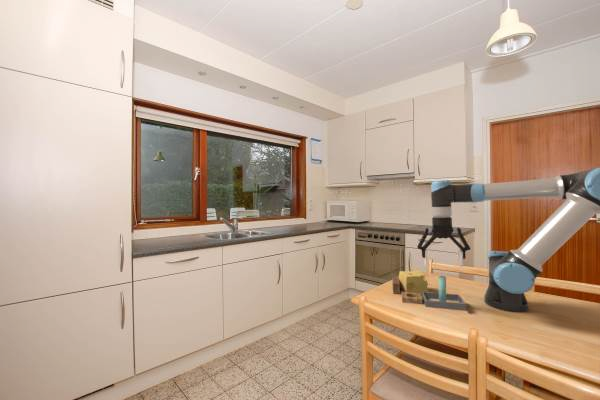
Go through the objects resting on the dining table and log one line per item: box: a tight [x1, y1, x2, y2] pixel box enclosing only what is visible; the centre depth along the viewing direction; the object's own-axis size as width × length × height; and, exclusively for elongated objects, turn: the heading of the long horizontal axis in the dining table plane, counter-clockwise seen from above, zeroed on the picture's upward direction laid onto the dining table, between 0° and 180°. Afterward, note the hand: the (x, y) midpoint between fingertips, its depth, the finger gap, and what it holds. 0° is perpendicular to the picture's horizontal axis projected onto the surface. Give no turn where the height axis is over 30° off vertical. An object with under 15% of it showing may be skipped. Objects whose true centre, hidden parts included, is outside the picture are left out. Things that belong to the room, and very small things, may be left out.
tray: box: [421, 291, 467, 311], centre depth 117 cm, size 15×11×4 cm
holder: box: [400, 291, 423, 305], centre depth 122 cm, size 8×8×3 cm
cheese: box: [398, 270, 429, 296], centre depth 133 cm, size 10×11×10 cm
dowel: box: [438, 275, 447, 302], centre depth 117 cm, size 3×3×12 cm
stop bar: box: [391, 276, 401, 295], centre depth 135 cm, size 3×12×6 cm, turn 163°
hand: (443, 265), depth 117 cm, fingers open, 13 cm apart
